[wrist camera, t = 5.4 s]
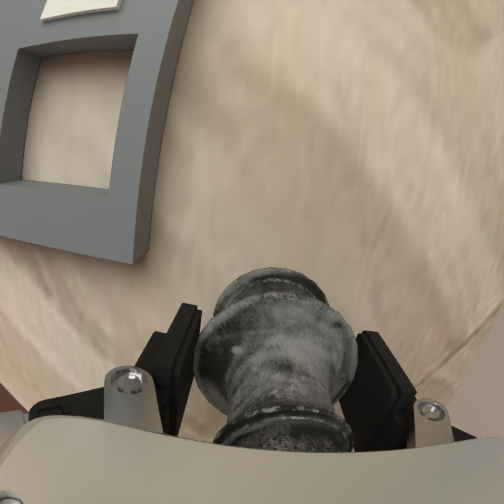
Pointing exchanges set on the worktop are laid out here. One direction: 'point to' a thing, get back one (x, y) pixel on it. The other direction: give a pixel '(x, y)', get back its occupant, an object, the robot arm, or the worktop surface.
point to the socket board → (128, 131)
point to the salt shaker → (277, 364)
